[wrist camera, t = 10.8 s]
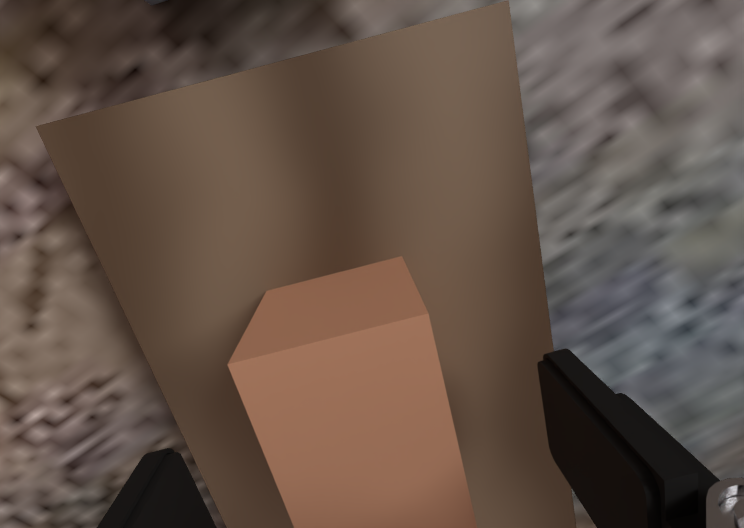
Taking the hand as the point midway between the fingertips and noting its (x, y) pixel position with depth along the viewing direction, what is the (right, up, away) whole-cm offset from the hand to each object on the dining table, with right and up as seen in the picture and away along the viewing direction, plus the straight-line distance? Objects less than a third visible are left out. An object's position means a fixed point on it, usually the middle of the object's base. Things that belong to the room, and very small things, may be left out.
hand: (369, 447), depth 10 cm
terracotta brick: (0, +1, +2) cm, 3 cm away
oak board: (0, +1, +4) cm, 4 cm away
